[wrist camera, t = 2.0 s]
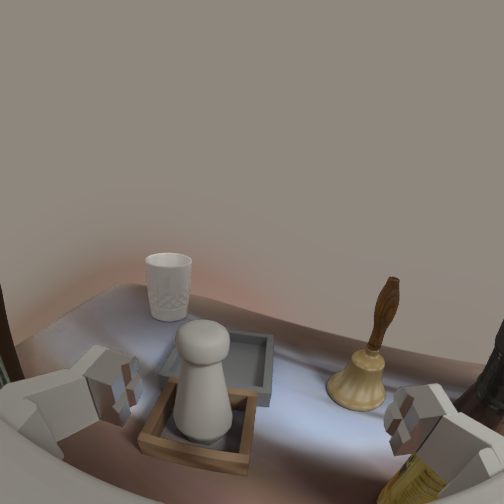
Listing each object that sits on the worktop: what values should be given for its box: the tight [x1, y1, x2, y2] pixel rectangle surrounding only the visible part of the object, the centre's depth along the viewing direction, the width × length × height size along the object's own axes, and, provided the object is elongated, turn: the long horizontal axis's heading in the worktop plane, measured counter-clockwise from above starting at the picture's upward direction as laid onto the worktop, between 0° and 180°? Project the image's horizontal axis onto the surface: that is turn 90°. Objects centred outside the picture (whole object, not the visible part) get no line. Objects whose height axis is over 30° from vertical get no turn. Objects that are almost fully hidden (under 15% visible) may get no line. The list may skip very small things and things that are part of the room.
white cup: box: [145, 253, 192, 322], centre depth 47 cm, size 8×8×10 cm
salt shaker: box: [173, 319, 233, 445], centre depth 23 cm, size 6×6×13 cm
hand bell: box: [327, 277, 399, 411], centre depth 30 cm, size 8×8×16 cm
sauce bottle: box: [375, 320, 504, 504], centre depth 11 cm, size 6×6×20 cm
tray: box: [158, 329, 274, 407], centre depth 35 cm, size 13×13×2 cm
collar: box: [137, 376, 258, 476], centre depth 24 cm, size 10×10×2 cm
